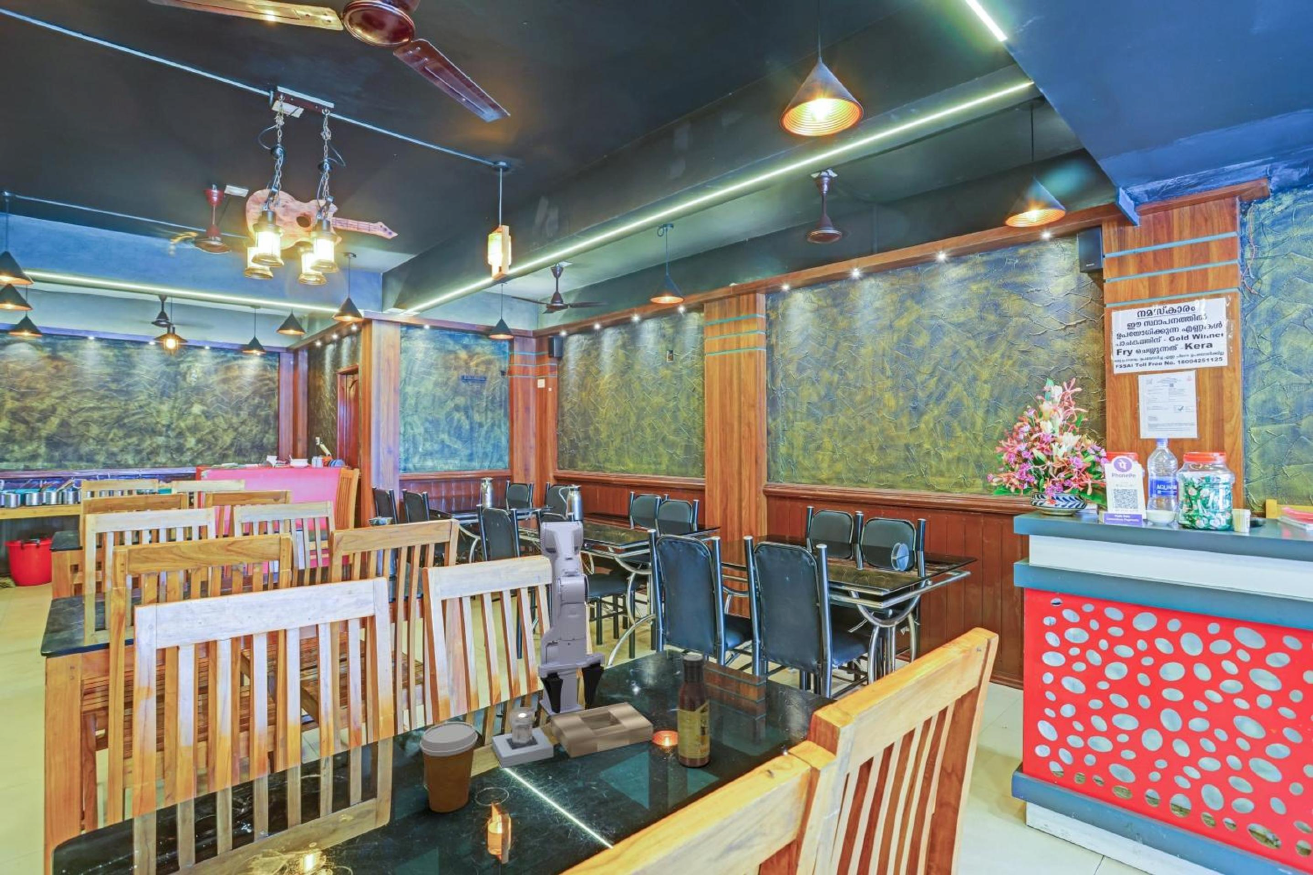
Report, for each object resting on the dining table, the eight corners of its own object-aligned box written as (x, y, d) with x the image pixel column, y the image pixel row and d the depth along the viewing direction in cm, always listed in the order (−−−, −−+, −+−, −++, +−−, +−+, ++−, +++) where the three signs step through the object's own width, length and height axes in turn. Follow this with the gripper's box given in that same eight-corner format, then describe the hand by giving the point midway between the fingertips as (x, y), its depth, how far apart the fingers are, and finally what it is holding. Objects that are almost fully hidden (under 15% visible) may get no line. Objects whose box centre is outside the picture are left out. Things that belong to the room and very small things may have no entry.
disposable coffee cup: (474, 783, 115) (475, 717, 116) (480, 810, 106) (480, 738, 107) (419, 794, 112) (419, 725, 112) (419, 823, 103) (420, 748, 103)
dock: (550, 730, 138) (550, 716, 138) (626, 715, 146) (626, 701, 146) (571, 757, 125) (571, 742, 125) (653, 739, 133) (653, 724, 133)
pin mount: (491, 746, 130) (491, 736, 130) (539, 736, 135) (539, 727, 135) (502, 767, 121) (502, 757, 121) (553, 756, 126) (553, 746, 126)
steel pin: (506, 749, 129) (506, 709, 129) (531, 744, 131) (531, 705, 131) (512, 759, 125) (512, 718, 125) (537, 754, 127) (537, 713, 127)
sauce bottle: (707, 770, 120) (706, 663, 120) (675, 767, 121) (674, 662, 122) (711, 754, 126) (710, 653, 127) (680, 751, 127) (679, 651, 128)
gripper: (550, 647, 119) (550, 721, 118) (613, 634, 128) (614, 703, 127) (532, 640, 124) (532, 712, 123) (593, 629, 134) (594, 695, 133)
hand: (572, 707), depth 126 cm, fingers open, 7 cm apart
